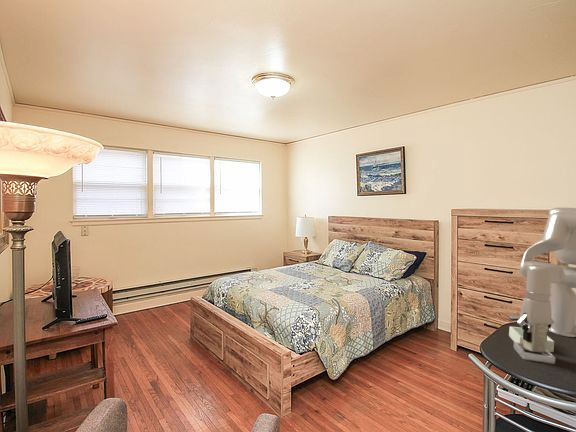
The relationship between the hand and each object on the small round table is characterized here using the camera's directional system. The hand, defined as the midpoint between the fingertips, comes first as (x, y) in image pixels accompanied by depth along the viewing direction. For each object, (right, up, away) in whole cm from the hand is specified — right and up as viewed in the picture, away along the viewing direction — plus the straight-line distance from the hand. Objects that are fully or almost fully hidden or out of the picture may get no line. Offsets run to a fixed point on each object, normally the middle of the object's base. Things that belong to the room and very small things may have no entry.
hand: (534, 340), depth 127 cm
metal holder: (-1, -6, 0) cm, 6 cm away
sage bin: (+6, -6, +11) cm, 14 cm away
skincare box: (0, -4, 0) cm, 4 cm away
